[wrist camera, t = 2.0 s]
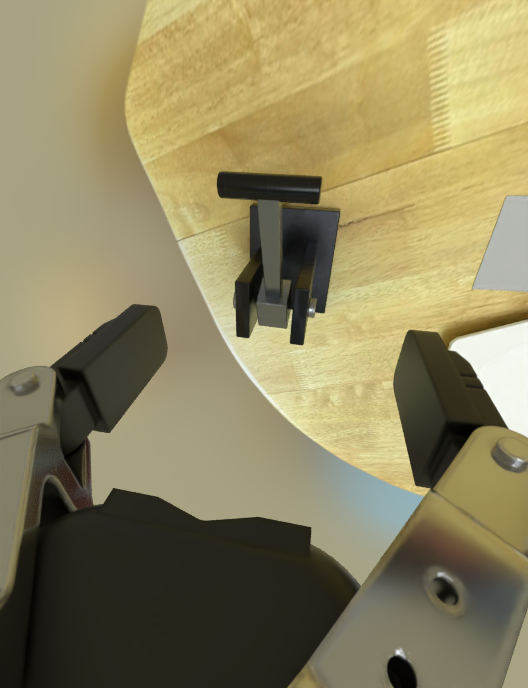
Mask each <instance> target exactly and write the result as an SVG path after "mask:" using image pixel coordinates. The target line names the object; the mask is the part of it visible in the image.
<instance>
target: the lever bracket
mask: <svg viewBox="0 0 528 688" xmlns="http://www.w3.org/2000/svg"><path fill="white" fill-rule="evenodd" d="M339 217H340V209H333V208H318V207H303V206H287V205H282V248H283V279H284V280H292V302H291V310H293V312H292V324H291V335H290V344H296V345H303V344H304V339H305V333H306V327H307V321H308V317H312V318H314V316H315V312H317V313H325V307H326V300H327V294H328V288H329V281H330V275H331V268H332V262H333V256H334V249H335V243H336V236H337V230H338V223H339ZM263 277H264V273H263V261H262V249H261V237H260V226H259V214H258V204H257V203H253V204H252V205H251V206H250V261H249V263H248V264H247V266H246V267H245V268H244V270H243V271H242V273H241V274H240V275H239V277H238V278H237V280H236V281H235V293H234V298H233V305H234V308H236V335H237V337H243V338H249V337H250V335H251V333H252V331H253V328H254V326H255V324H256V322H257V319H258V316H257V308H256V299H257V295H258V292H259V288H260V284H261V280H262V278H263Z"/></svg>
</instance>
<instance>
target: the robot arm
mask: <svg viewBox="0 0 528 688" xmlns="http://www.w3.org/2000/svg"><path fill="white" fill-rule="evenodd" d="M167 349H168V347H167V341H166V336H165V332H164V327H163V323H162V318H161V314H160V311H159V309H158V308H157V307H156V306H148V305H137V304H133V305H131V306H130V307H129V308H128V309H126V310H125V311H124V312H123V313H121V314H120V315H119V316H118V317H117V318H115V319H113V320H110V321H108V322H106V323H104V324H103V325H101V326H100V327H99V328H98V329H97V330H95V331H94V332H93V334H92V335H91V334H90V335H89V336H88V337H86V338H85V339H84V341H83V342H80V343H79V344H78V345H76V346H75V347H74V348H73V349H72V350H70V351H69V352H68V353H67V354H65V355H64V356H63V357H62V358H60V359H59V360H58V361H57V362H55V363H54V364H53V365H52V366H51V367H47V366H34V367H28V368H24V369H21V370H18V371H16V372H13V373H11V374H9V375H7V376H5V377H4V378H2V379H1V380H0V688H502V686H503V683H504V680H505V676H506V673H507V670H508V667H509V664H510V661H511V658H512V655H513V652H514V648H515V646H516V643H517V639H518V636H519V633H520V630H521V627H522V624H523V621H524V617H525V615H526V612H527V608H528V438H527V437H526V436H524V435H522V434H520V433H518V432H515V431H513V430H510V429H509V428H508V427H507V425H506V423H505V422H504V420H503V418H502V417H501V415H500V413H499V411H498V410H497V408H496V406H495V405H494V403H493V401H492V400H491V398H490V396H489V395H488V393H487V391H486V390H484V386H483V384H482V383H481V381H480V379H479V378H477V374H476V372H475V371H474V369H473V367H472V366H471V364H470V363H469V362H468V361H467V360H466V359H465V358H463V357H462V356H461V355H460V354H458V353H457V352H456V351H451V350H447V349H446V347H445V345H444V343H443V341H442V339H441V337H440V335H439V334H438V333H437V332H429V331H418V330H409V331H408V332H407V334H406V336H405V339H404V343H403V346H402V349H401V353H400V356H399V359H398V363H397V366H396V369H395V373H394V382H393V386H394V393H395V398H396V402H397V407H398V411H399V415H400V420H401V424H402V429H403V433H404V437H405V442H406V446H407V451H408V455H409V459H410V464H411V468H412V473H413V477H414V482H415V486H420V487H426V488H431V489H430V490H429V491H428V493H427V494H426V495H425V497H424V498H423V500H422V501H421V502H420V504H419V505H418V507H417V508H416V509H415V511H414V512H413V514H412V515H411V517H410V518H409V519H408V521H407V522H406V524H405V525H404V527H403V528H402V529H401V531H400V532H399V534H398V535H397V536H396V538H395V539H394V541H393V542H392V544H391V545H390V546H389V548H388V549H387V550H386V552H385V553H384V555H383V556H382V557H381V559H380V560H379V562H378V563H377V565H376V566H375V567H374V569H373V570H372V572H371V573H370V574H369V576H368V577H367V579H366V580H365V582H364V583H363V584H362V586H360V584H359V583H358V582H357V580H356V579H355V578H354V577H353V576H352V575H351V574H350V573H349V572H348V571H347V570H346V569H345V568H344V567H343V566H342V565H341V564H340V563H339V562H337V561H336V560H335V559H334V558H333V557H331V556H330V555H328V554H327V553H325V552H324V551H322V550H321V549H319V548H317V547H315V546H313V545H311V544H310V541H311V527H307V526H302V525H297V524H292V523H286V522H281V521H277V520H272V519H266V518H261V517H251V518H238V519H224V520H211V521H203V520H199V519H197V518H195V517H194V516H192V515H190V514H188V513H186V512H185V511H183V510H181V509H179V508H177V507H175V506H173V505H172V504H170V503H168V502H166V501H164V500H163V499H161V498H159V497H156V496H151V495H145V494H140V493H136V492H130V491H125V490H120V489H115V488H113V490H112V491H111V493H110V494H109V496H108V497H107V499H106V501H105V502H104V504H99V505H93V500H92V488H91V487H92V486H91V453H90V441H89V439H88V437H87V436H88V435H89V434H90V433H91V431H92V430H94V431H99V432H105V433H110V432H111V430H112V429H113V428H114V427H115V425H116V424H117V423H118V421H119V420H120V419H121V418H122V416H123V415H124V414H125V412H126V411H127V410H128V408H129V407H130V406H131V404H132V403H133V402H134V400H135V399H136V398H137V397H138V395H139V394H140V393H141V391H142V390H143V389H144V387H145V386H146V385H147V383H148V382H149V381H150V380H151V378H152V377H153V376H154V374H155V373H156V372H157V370H158V369H159V368H160V366H161V365H162V364H163V362H164V361H165V359H166V355H167Z"/></svg>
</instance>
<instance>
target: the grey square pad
mask: <svg viewBox="0 0 528 688" xmlns="http://www.w3.org/2000/svg"><path fill="white" fill-rule="evenodd" d="M472 289H481V290H502V291H523V292H528V196H506V199H505V202H504V204H503V207H502V210H501V213H500V215H499V218H498V221H497V223H496V226H495V229H494V231H493V234H492V237H491V239H490V242H489V245H488V247H487V250H486V253H485V256H484V258H483V261H482V264H481V266H480V269H479V272H478V274H477V277H476V280H475V282H474V285H473V288H472Z"/></svg>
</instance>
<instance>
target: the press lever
mask: <svg viewBox="0 0 528 688" xmlns="http://www.w3.org/2000/svg"><path fill="white" fill-rule="evenodd" d="M321 188H322V177H321V176H305V175H285V174H266V173H246V172H227V171H221V172H219V174H218V178H217V190H218V194H219V197H220V198H227V199H242V200H257V202H258V214H259V226H260V237H261V249H262V261H263V273H264V277H263V278H262V280H261V284H260V288H259V292H258V295H257V299H256V308H257V316H258V324H259V325H261V326H269V327H277V328H284V329H287V326H288V320H289V315H290V310H291V302H292V280H284V279H283V248H282V202H289V203H304V204H319V202H320V196H321Z"/></svg>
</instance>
